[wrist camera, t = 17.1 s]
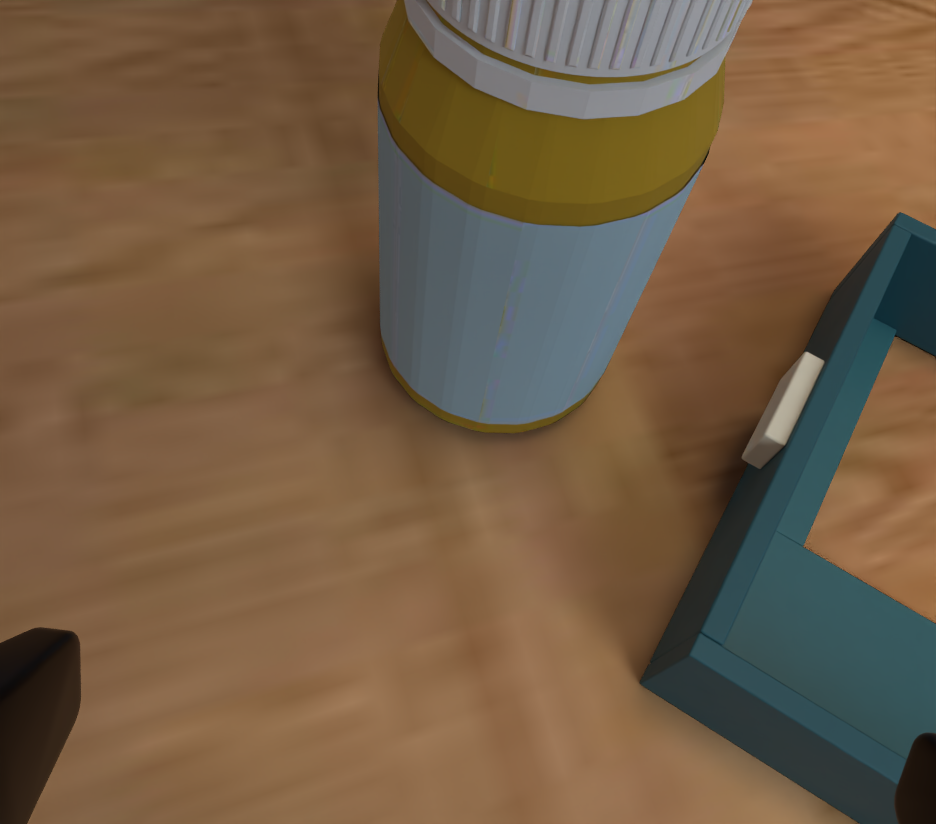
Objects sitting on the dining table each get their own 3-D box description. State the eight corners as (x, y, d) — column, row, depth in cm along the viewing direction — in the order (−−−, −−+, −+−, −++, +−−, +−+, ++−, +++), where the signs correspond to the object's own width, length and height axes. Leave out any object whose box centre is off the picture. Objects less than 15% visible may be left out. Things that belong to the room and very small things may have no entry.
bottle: (510, 219, 28) (624, -336, 15) (648, 366, 26) (929, -128, 12) (336, 315, 26) (284, -241, 12) (472, 487, 23) (585, 36, 10)
